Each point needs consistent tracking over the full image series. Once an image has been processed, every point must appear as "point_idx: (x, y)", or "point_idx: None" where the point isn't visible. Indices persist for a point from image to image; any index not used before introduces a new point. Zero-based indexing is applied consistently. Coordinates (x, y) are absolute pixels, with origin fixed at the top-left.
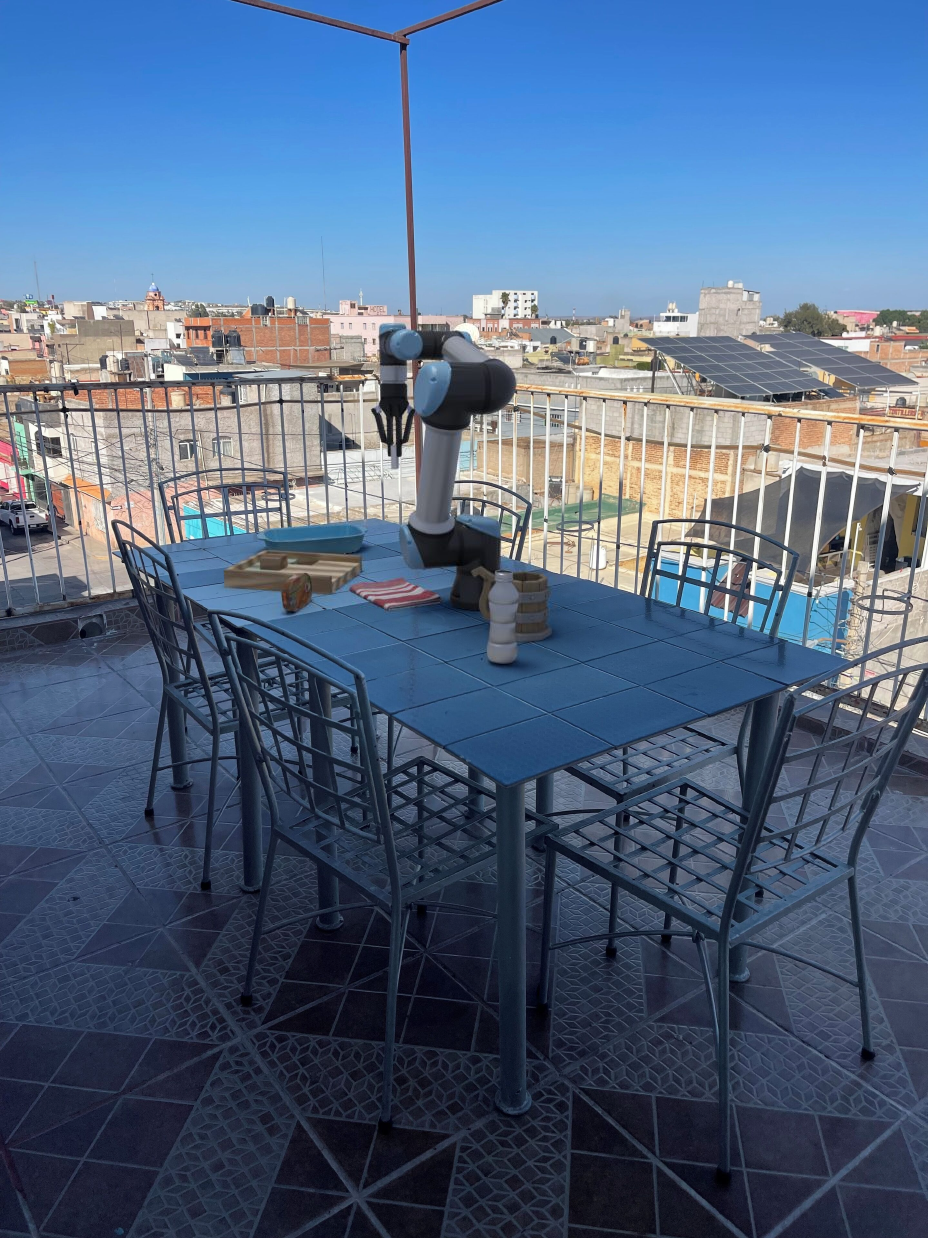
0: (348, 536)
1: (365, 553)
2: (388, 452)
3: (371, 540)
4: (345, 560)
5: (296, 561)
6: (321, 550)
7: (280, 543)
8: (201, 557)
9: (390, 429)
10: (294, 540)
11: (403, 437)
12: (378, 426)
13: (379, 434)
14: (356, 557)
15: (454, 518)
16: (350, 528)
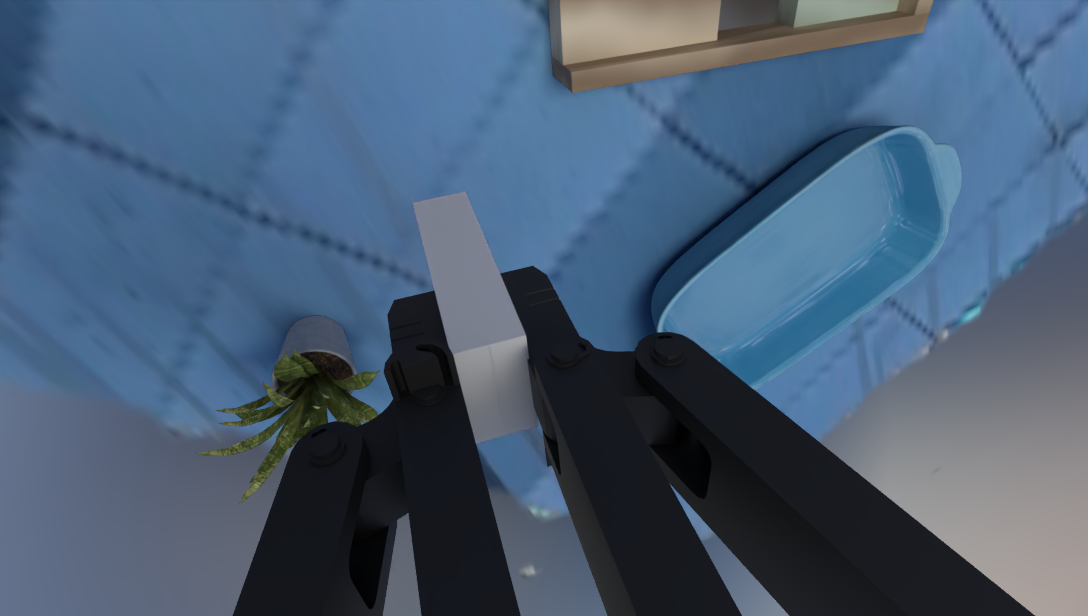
0: (692, 279)
1: (626, 290)
2: (544, 292)
3: None
4: (622, 57)
5: (793, 10)
6: (747, 206)
7: (882, 130)
8: (1066, 44)
9: (614, 541)
10: (841, 280)
11: (335, 493)
12: (871, 510)
13: (763, 402)
14: (584, 68)
15: (307, 426)
16: None
